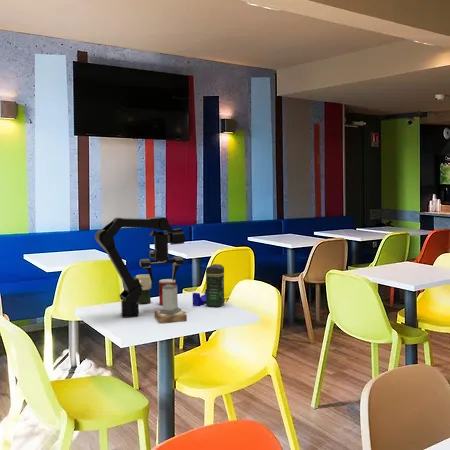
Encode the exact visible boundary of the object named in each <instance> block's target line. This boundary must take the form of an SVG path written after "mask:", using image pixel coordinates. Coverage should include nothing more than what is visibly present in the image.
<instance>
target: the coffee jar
mask: <svg viewBox="0 0 450 450" xmlns="http://www.w3.org/2000/svg"><path fill="white" fill-rule="evenodd" d="M205 278H206V279H205V280H206V283H205V284H206V285H205V289H206V304H205V305H206V306H208V307H212V308H215V307H222V306H223V305H224V304H225V266H223V265H222V264H217V263H215V264H211V265H209V266H208V267H206V268H205Z"/></svg>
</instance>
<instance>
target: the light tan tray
mask: <svg viewBox="0 0 450 450" xmlns="http://www.w3.org/2000/svg"><path fill="white" fill-rule="evenodd" d="M160 310H161V309H160ZM160 310H154V318H155V320H157V322H158V323H159V324H167V323H168V324H169V323H178V322H179V323H180V322H187V320H188V315H187V314H186V313H185V312H184V311H183V310H182V309H181V311H180V312H178V313H176V314H174V315H172V314H161V313H160Z"/></svg>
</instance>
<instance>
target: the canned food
mask: <svg viewBox="0 0 450 450" xmlns="http://www.w3.org/2000/svg"><path fill="white" fill-rule="evenodd" d="M167 284H168V285H177V283H176V279H174V281H173V279H172V278H164V279H160V280H159V281H158V292H159V293H158V297H159V299H158V300H159V305H160V306H163V292H162V286H165V285H167Z"/></svg>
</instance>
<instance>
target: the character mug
mask: <svg viewBox="0 0 450 450" xmlns="http://www.w3.org/2000/svg"><path fill="white" fill-rule="evenodd" d="M135 278H138V280H139V282H140V284H141V285H142V286H143V287H141V288H142V294H141V296H140V297H139V299H138V302H137V303H138V304H140V303H143V304H144V303H145V304H146V303H151V302H152V301H151V299H152V298H151V294H150V290H151V289H152V282H151V279H150V276H149V274H141V273H140V274H137V275H135Z"/></svg>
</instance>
